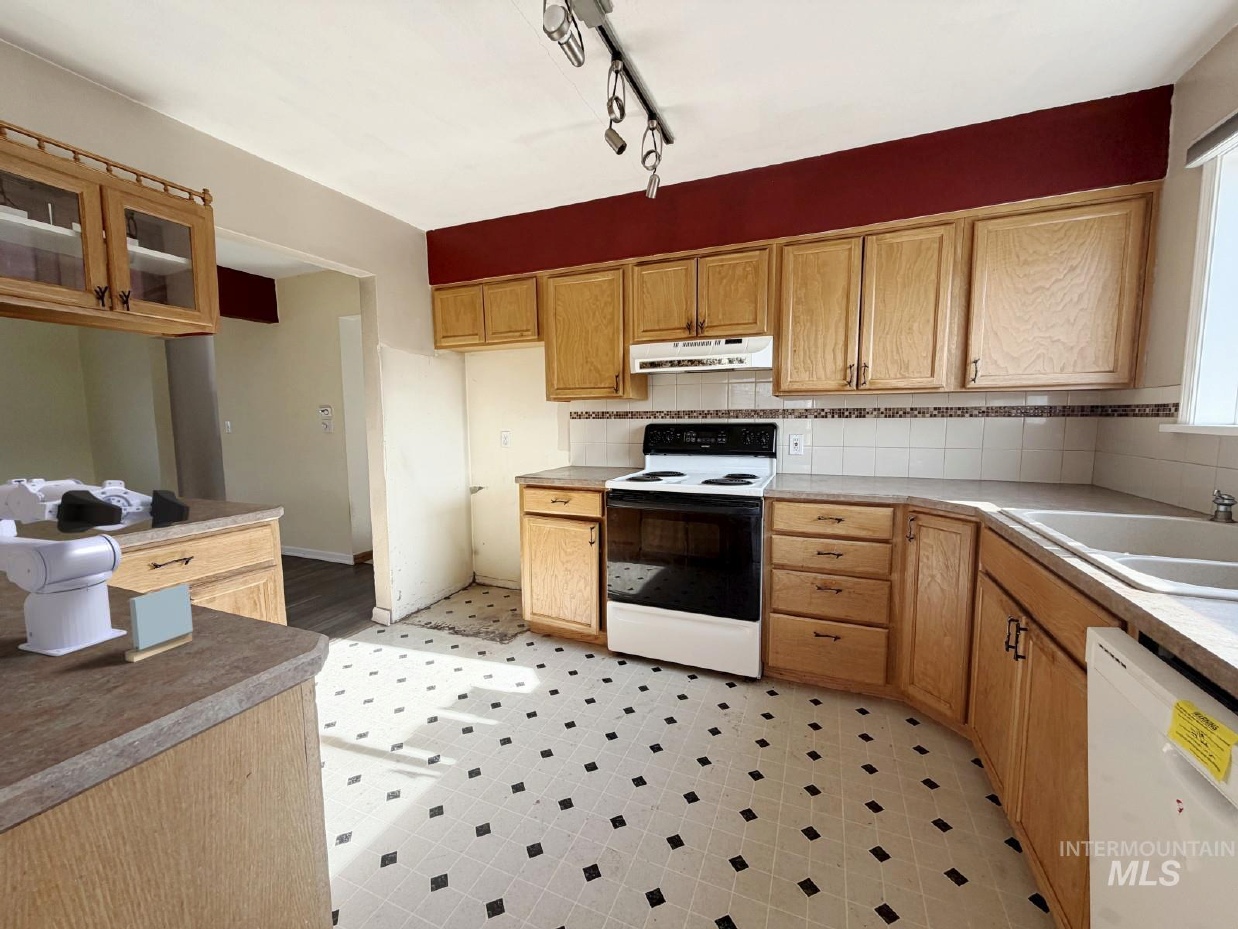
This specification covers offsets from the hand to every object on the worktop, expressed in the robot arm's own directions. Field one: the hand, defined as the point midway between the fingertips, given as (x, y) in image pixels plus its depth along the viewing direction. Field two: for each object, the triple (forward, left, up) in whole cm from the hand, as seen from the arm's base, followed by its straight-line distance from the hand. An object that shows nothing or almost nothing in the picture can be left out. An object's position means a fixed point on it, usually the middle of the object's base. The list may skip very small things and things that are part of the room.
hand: (154, 514), depth 66 cm
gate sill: (-4, +1, -20) cm, 20 cm away
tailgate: (-3, +1, -18) cm, 19 cm away
